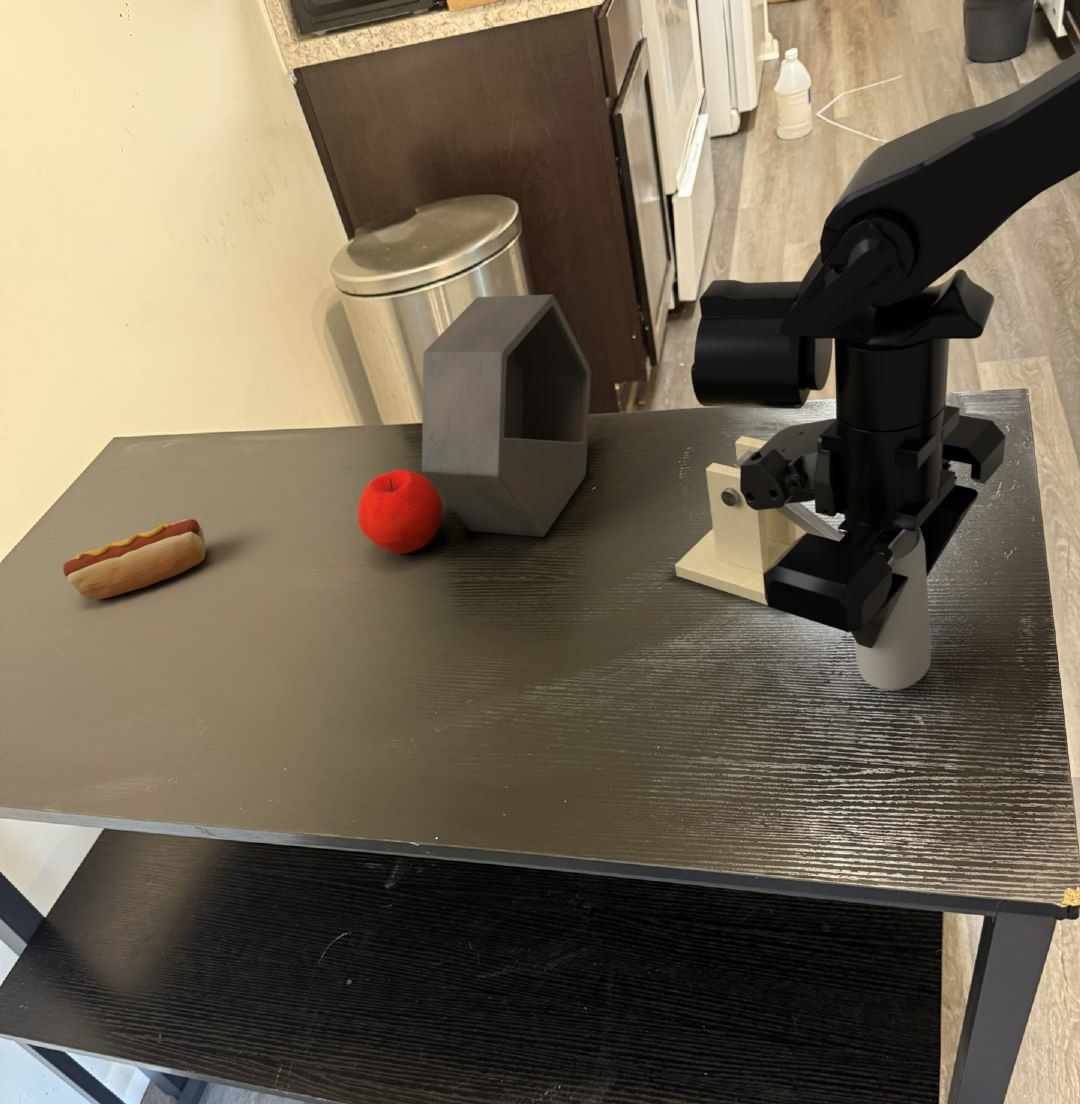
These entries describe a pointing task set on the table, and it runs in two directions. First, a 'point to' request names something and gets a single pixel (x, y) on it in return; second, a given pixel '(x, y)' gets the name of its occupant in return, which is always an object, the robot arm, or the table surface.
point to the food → (137, 560)
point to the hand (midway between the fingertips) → (886, 620)
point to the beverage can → (902, 624)
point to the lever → (801, 514)
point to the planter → (506, 414)
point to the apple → (400, 511)
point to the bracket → (737, 536)
